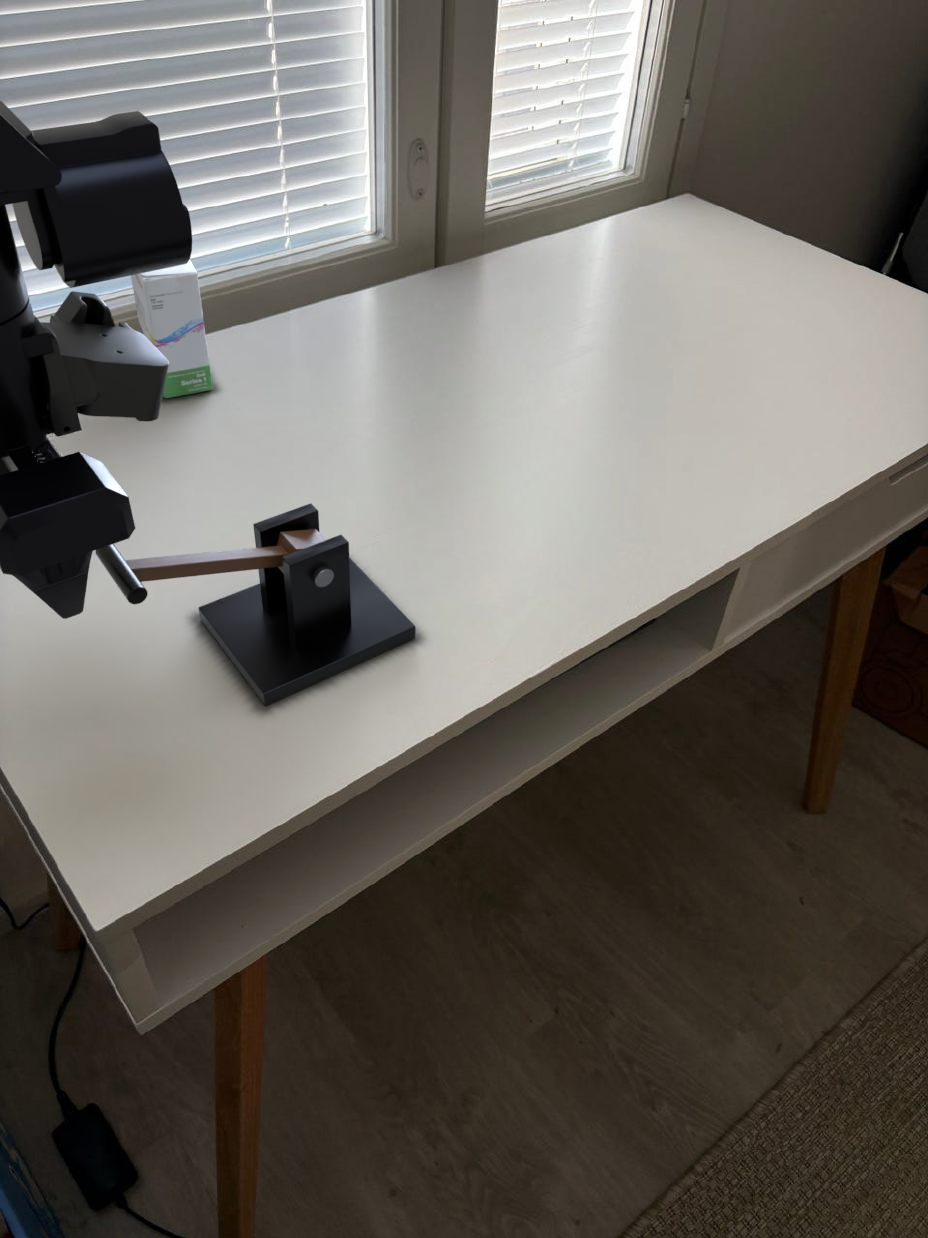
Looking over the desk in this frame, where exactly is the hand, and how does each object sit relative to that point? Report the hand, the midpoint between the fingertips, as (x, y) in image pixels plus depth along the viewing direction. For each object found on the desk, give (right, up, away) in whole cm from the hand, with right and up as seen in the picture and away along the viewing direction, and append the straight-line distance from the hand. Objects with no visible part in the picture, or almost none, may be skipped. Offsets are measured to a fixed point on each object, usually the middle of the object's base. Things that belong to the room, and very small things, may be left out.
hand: (42, 566), depth 56 cm
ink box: (-4, +21, +41) cm, 46 cm away
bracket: (+12, -4, +16) cm, 21 cm away
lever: (+8, 0, +8) cm, 11 cm away
